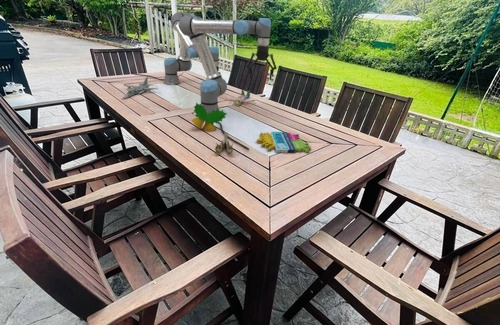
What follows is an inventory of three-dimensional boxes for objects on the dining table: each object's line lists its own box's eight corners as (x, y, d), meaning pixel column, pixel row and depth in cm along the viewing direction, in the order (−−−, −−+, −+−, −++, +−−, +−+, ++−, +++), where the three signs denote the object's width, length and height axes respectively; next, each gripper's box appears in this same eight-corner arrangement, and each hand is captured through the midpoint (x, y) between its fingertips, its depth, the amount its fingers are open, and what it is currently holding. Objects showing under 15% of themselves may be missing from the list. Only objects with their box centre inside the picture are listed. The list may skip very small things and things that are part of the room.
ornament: (218, 133, 171) (224, 110, 169) (221, 134, 163) (227, 111, 161) (186, 125, 162) (192, 101, 160) (189, 126, 155) (195, 101, 153)
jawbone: (234, 135, 144) (233, 125, 135) (233, 160, 138) (232, 151, 129) (217, 135, 144) (216, 125, 135) (216, 160, 138) (214, 150, 129)
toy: (261, 91, 228) (254, 99, 202) (261, 99, 231) (253, 108, 205) (231, 87, 233) (220, 95, 207) (230, 95, 236) (219, 104, 210)
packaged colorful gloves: (313, 150, 142) (258, 149, 139) (312, 153, 143) (258, 152, 140) (301, 132, 164) (254, 130, 161) (301, 134, 165) (254, 133, 162)
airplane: (117, 88, 232) (115, 76, 227) (154, 85, 245) (152, 75, 240) (121, 101, 204) (118, 88, 199) (162, 97, 217) (161, 85, 212)
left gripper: (209, 67, 214) (209, 95, 226) (225, 65, 229) (225, 91, 241) (202, 66, 218) (203, 93, 229) (219, 64, 233) (218, 89, 244)
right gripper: (281, 46, 172) (277, 78, 183) (243, 43, 170) (242, 77, 181) (283, 47, 166) (279, 81, 176) (244, 44, 164) (242, 79, 174)
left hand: (214, 92), depth 235 cm, fingers closed on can, 8 cm apart
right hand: (260, 79), depth 178 cm, fingers open, 13 cm apart
